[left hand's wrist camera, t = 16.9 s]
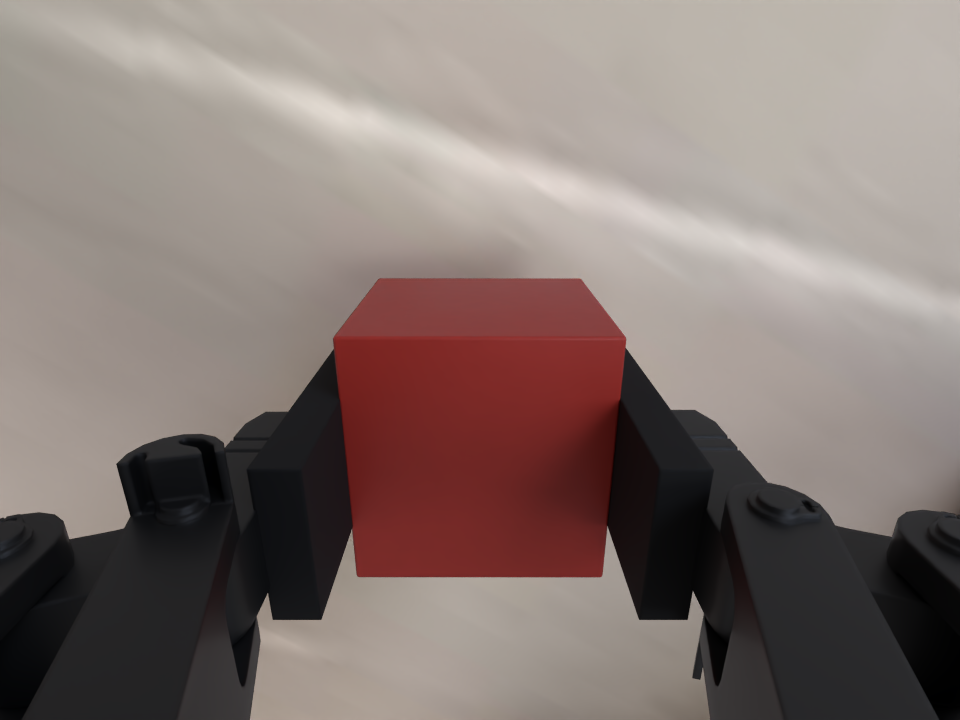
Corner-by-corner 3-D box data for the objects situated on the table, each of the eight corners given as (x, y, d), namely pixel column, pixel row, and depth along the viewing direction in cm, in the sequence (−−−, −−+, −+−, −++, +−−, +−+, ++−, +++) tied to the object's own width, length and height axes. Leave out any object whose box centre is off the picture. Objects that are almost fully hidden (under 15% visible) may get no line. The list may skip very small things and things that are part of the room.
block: (390, 460, 15) (356, 578, 11) (378, 278, 13) (332, 336, 9) (569, 460, 15) (602, 578, 11) (581, 278, 13) (627, 337, 9)
